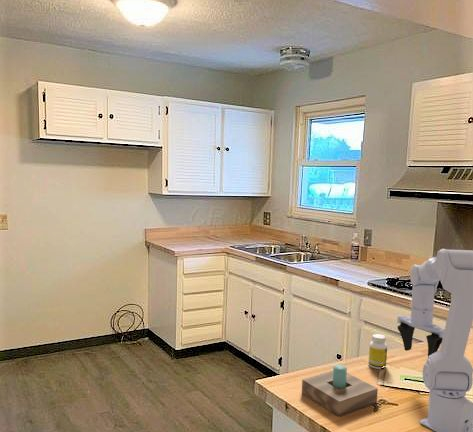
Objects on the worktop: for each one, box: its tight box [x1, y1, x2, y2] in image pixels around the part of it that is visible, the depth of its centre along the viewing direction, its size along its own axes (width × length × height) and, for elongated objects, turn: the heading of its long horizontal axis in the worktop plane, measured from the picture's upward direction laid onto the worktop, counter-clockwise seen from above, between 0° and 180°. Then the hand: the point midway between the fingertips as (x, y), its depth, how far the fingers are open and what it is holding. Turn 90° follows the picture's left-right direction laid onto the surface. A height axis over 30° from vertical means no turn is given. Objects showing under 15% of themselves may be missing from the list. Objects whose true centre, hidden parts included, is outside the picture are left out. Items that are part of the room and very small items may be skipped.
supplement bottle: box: [368, 333, 388, 370], centre depth 144 cm, size 5×5×10 cm
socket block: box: [301, 370, 379, 417], centre depth 123 cm, size 14×14×4 cm
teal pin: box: [332, 364, 348, 390], centre depth 123 cm, size 4×4×8 cm
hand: (419, 354), depth 129 cm, fingers open, 7 cm apart
